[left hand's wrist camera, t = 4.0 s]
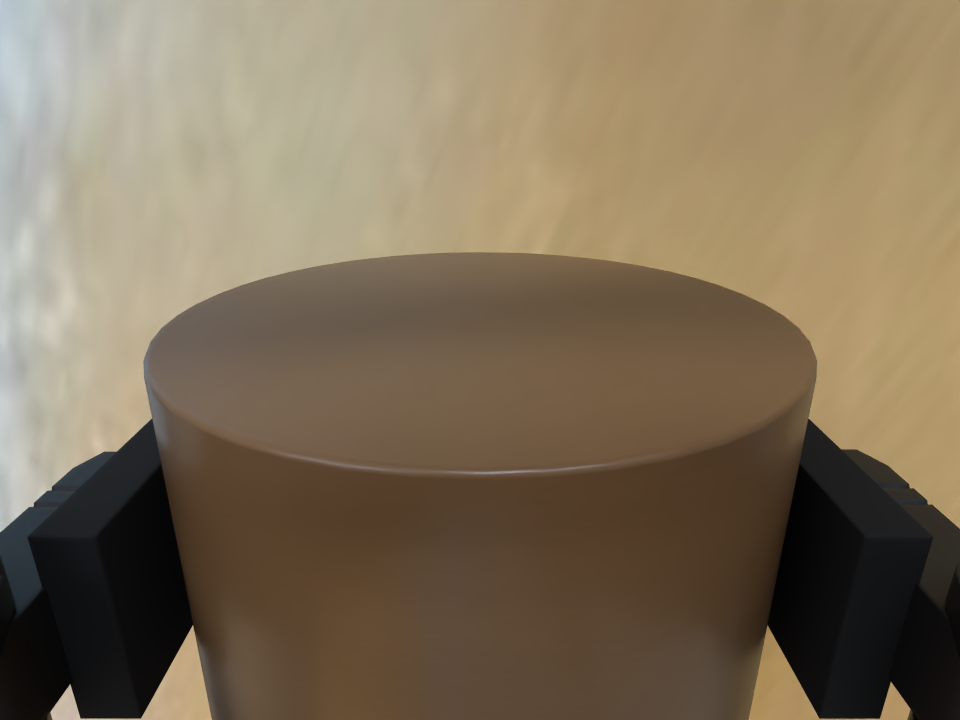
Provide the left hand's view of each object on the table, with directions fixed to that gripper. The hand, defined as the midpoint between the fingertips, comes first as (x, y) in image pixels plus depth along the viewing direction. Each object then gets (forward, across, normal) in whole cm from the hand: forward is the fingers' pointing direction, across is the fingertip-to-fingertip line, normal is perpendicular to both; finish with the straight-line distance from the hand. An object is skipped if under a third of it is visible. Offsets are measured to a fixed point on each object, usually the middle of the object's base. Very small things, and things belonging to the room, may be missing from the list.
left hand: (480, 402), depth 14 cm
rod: (0, 0, -10) cm, 10 cm away
